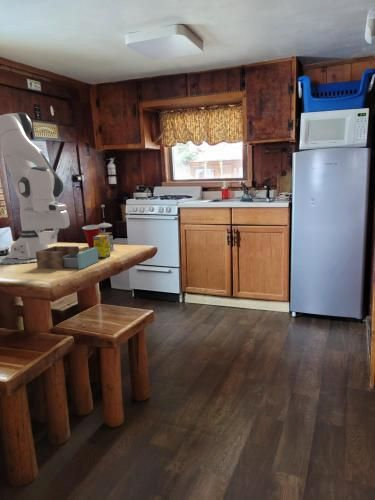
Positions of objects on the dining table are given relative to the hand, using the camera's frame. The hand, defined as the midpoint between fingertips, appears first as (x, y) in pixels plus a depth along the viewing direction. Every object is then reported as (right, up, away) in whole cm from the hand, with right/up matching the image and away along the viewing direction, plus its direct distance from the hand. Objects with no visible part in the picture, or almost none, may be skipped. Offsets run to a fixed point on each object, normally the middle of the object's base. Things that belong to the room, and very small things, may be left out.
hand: (48, 238), depth 164 cm
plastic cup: (+4, -3, +62) cm, 62 cm away
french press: (+15, -6, +46) cm, 48 cm away
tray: (+9, -11, +14) cm, 20 cm away
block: (0, -2, 0) cm, 2 cm away
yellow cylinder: (+17, -9, +30) cm, 35 cm away
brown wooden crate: (-1, -12, +16) cm, 20 cm away
